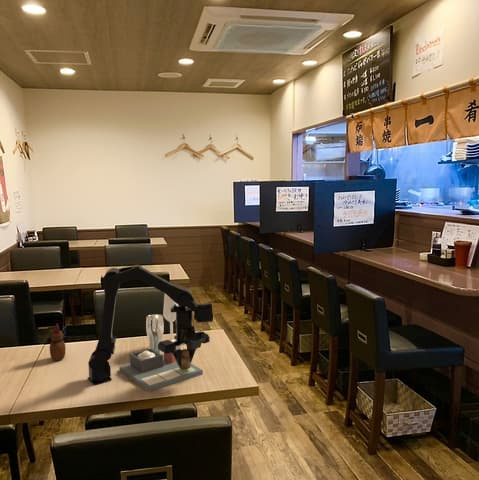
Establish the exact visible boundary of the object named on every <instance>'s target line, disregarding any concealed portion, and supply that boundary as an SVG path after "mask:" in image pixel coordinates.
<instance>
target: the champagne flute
mask: <svg viewBox="0 0 479 480" xmlns="http://www.w3.org/2000/svg"><path fill="white" fill-rule="evenodd" d="M174 304H176V305H177V306H179V305H178V304H177V303H175V302H174V301H173V300H172V299H171V298H170V297H169V296H168V295H166V294H165V293H164V297H163V314H162V316H163V319H164V320H166V321H167V322H169V335H170V336H169V337H170V339H169V340H170V341H172V342H174V341H176V339H174V323H173V322H176V312H171V308H172V307H173V306H174Z"/></svg>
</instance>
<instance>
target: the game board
mask: <svg viewBox="0 0 479 480" xmlns="http://www.w3.org/2000/svg"><path fill="white" fill-rule="evenodd" d="M144 351H149V352H152V353H154V354H155V357H151V358H148V359H144V360H141V359H140V358H138V354H140V353H142V352H144ZM119 371H120V372H121V373H122V374H124V375H125V376H126V377H128V378H129V379H131V380H132V381H134V382H135V383H137V384H138V385H139V386H140V387H141V388H143V389H144V390H145V391H147V392H152V391H155V390H158V389H161V388H163V387H164V388H165V387H167V386H170V385H173V384H177V383H179V382H182V381H186V380H188V379H191V378H196V377H198V376H200V375H203V374H204V373H203V372H204V371H203V369H201V368H200V367H198V366H197V365H194V364H192V362H191V363H190V368H189V369H180V368H179V366H178V364H177V362H176V361H175V362H173V363H170V362H167V361H164V353H162V354H160V353H158V352H157V351H155V350H153V349H152V348H150V349H149V348H147V349H143V350H140V351H136V352H132V353H131V352H130V353H129V363H126V364H123V365H120V366H119Z"/></svg>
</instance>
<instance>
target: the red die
mask: <svg viewBox="0 0 479 480" xmlns="http://www.w3.org/2000/svg"><path fill="white" fill-rule="evenodd" d="M163 354H164V361H167V362H170V363H173V362H175V361H176V359H175V357H174V355H173V354H172V353H168V354H166V353H164V352H163Z"/></svg>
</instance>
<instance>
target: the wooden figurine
mask: <svg viewBox="0 0 479 480" xmlns="http://www.w3.org/2000/svg"><path fill="white" fill-rule="evenodd" d="M63 339H64V333H63V331H62V330H60V326H59V323H58V322H57V323H55V325H54V327H53V331H51V334H50V340H51V342H50V344H49V354H50V358H51V359H52V360H53V361H63V359H64V358H65V356H66V343H65V341H64V340H63Z"/></svg>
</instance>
